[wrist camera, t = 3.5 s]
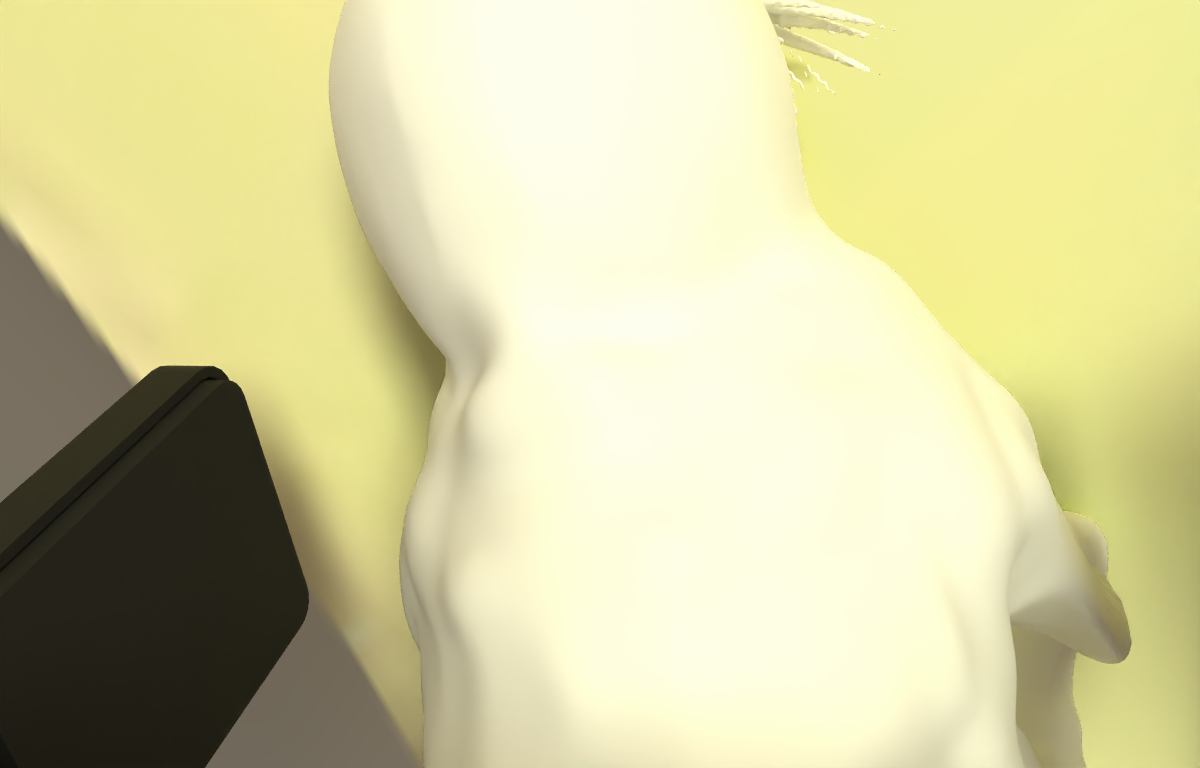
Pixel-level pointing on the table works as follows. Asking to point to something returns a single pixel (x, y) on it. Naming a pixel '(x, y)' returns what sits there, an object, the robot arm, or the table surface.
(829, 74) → the table surface
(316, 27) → the table surface
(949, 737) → the white animal figurine
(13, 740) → the robot arm
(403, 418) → the table surface
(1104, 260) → the table surface
